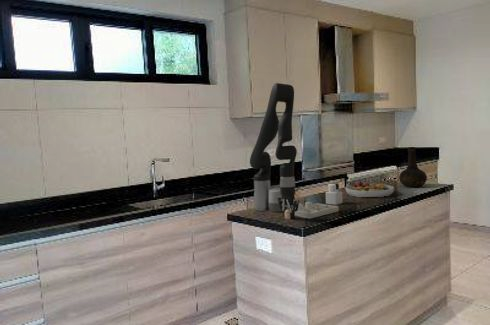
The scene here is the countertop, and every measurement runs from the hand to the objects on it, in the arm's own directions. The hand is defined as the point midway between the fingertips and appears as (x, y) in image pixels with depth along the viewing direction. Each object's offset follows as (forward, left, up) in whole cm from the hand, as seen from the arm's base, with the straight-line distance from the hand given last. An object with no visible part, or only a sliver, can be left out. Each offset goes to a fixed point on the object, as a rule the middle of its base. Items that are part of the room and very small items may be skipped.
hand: (289, 218), depth 195 cm
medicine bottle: (-9, +45, -1) cm, 46 cm away
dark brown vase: (-5, +124, -1) cm, 124 cm away
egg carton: (+1, +17, 0) cm, 17 cm away
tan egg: (0, 0, -1) cm, 1 cm away
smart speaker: (-18, +8, -1) cm, 20 cm away
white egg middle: (-3, +17, 0) cm, 17 cm away
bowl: (-11, +82, -1) cm, 83 cm away
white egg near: (-3, +10, 0) cm, 10 cm away
